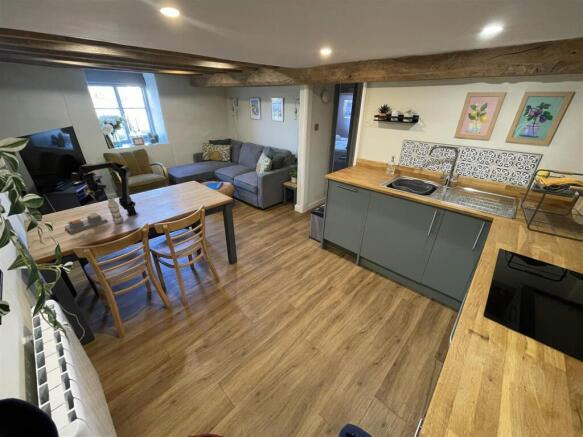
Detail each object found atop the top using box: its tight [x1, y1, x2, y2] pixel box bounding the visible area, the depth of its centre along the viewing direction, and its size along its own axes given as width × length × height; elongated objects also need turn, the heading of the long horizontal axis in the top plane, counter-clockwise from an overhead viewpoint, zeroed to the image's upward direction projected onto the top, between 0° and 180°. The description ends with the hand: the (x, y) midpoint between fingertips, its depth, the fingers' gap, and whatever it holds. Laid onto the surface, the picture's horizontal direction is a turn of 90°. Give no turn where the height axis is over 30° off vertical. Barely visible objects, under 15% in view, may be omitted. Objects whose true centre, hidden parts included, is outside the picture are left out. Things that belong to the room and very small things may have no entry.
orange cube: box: [69, 217, 81, 224], centre depth 168 cm, size 4×4×4 cm
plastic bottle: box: [107, 197, 124, 225], centre depth 174 cm, size 6×7×20 cm
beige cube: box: [87, 212, 99, 218], centre depth 176 cm, size 4×4×4 cm
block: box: [64, 214, 109, 234], centre depth 173 cm, size 12×22×5 cm, turn 147°
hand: (97, 200), depth 182 cm, fingers closed
